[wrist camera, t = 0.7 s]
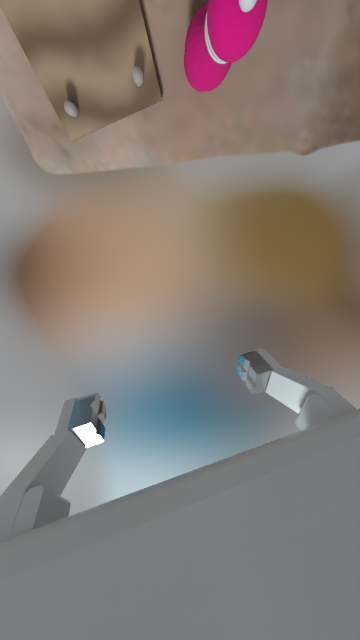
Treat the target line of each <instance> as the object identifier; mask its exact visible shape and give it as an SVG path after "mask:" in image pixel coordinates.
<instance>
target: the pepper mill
mask: <svg viewBox="0 0 360 640" xmlns="http://www.w3.org/2000/svg"><path fill="white" fill-rule="evenodd" d="M266 7H267V0H208V3H207V4H205V5H203V6H202V7H201V8H200V9H199V10H198V11H197V13H196V14H195V16H194V18H193V19H192V21H191V23H190V26H189V29H188V32H187V36H186V42H185V55H184V67H185V73H186V76H187V79H188V81H189V83H190V85H191V86H192V87H193V88H194V89H196V90H198V91H211V90H213V89H215V88H216V87H217V86H219V85H220V83H221V82H222V81H223V79H224V78H225V76H226V75H227V73H228V71H229V68H230V65H231V62H235V61H237V60H239V59H241V58H242V57H243V56H245V54H246V53H247V52H248V51H249V50H250V49H251V47H252V46H253V44H254V43H255V41H256V39H257V37H258V35H259V32H260V30H261V27H262V24H263V21H264V17H265V12H266Z"/></svg>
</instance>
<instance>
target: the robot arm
mask: <svg viewBox="0 0 360 640" xmlns="http://www.w3.org/2000/svg"><path fill="white" fill-rule="evenodd" d="M238 360H239V363H238V364H237V371H238V374H239V376H240V378H241V379H242V380H244V381H246V387H247V388H248V390H249V391H250V393H251V394H252V395H253V394H257V393H261V392H265V391H266V393H268V394H269V395H271V396H272V397H274V398H275V399H277V400H278V401H280V402H281V403H283V404H284V405H286V406H288V407H289V408H291V409H292V410H294V411H295V412H297V413H298V416H297V418H296V420H295V424H296V425H297V426H298V428H299V429H300V430H301V431H298V432H296V433H293V434H290V435H288V436H285V437H283V438H280V439H277V440H274V441H271V442H269V443H266V444H263V445H261V446H258V447H255V448H252V449H250V450H247V451H244V452H242V453H239V454H236V455H234V456H231V457H228V458H225V459H223V460H220V461H217V462H215V463H212V464H210V465H207V466H204V467H201V468H198V469H196V470H193V471H190V472H188V473H185V474H182V475H179V476H177V477H174V478H172V479H169V480H166V481H163V482H161V483H158V484H155V485H152V486H150V487H147V488H144V489H142V490H139V491H136V492H134V493H131V494H128V495H126V496H123V497H120V498H118V499H115V500H112V501H109V502H107V503H104V504H101V505H98V506H96V507H93V508H91V509H88V510H85V511H82V512H79V513H77V514H74V515H71V516H69V510H70V502H69V501H68V500H66V499H64V498H62V497H61V496H60V495H61V493H62V492H63V490H64V488H65V486H66V484H67V482H68V481H69V479H70V477H71V475H72V474H73V472H74V470H75V468H76V467H77V465H78V463H79V461H80V459H81V458H82V456H83V454H84V452H85V450H86V447H89V446H92V445H94V444H98V443H101V442H103V441H104V436H105V427H104V425H103V423H104V421H105V420H106V407H105V404H104V402H103V401H101V400H100V395H99V394H98V393H95V394H91V395H87V396H83V397H79V398H74V399H71V400H67V401H66V402H65V403H64V405H63V408H62V411H61V415H60V418H59V421H58V425H57V428H56V431H55V434H54V435H52V436H50V438H49V439H48V440H47V441H46V442H45V444H44V445H43V446H42V447H41V448H40V449H39V451H38V452H37V453H36V454H35V456H34V457H33V458H32V459H31V460H30V461H29V463H28V464H27V465H26V466H25V468H24V469H23V470H22V471H21V472H20V473H19V475H18V476H17V477H16V478H15V479H14V481H13V482H12V483H11V484H10V485H9V486H8V488H7V489H6V490H5V491H4V493H3V494H2V495H1V496H0V640H360V409H358V410H357V409H356V408H355V407H354V406H353V405H351V404H350V403H349V402H348V401H347V400H346V399H345V398H343V397H342V396H341V395H340V394H339V393H338V392H337V391H335V390H334V389H333V388H332V387H330V386H328V385H325V384H323V383H321V382H318V381H316V380H314V379H311V378H309V377H307V376H304V375H302V374H299V373H297V372H295V371H293V370H290V369H288V368H285V367H283V368H282V367H281V366H280V365H279V364H278V363H277V362H276V361H275V360H274V359H273V358H272V357H271V356H270V355H269V354H268V353H267V352H266V351H265V350H264V349H258V350H255V351H250V352H247V353H243V354H240V355H239V356H238ZM68 516H69V517H68Z"/></svg>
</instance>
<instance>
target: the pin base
mask: <svg viewBox="0 0 360 640" xmlns="http://www.w3.org/2000/svg"><path fill="white" fill-rule="evenodd" d="M0 6H1V8H2V10H3V12H4V14H5V16H6V18H7V20H8V22H9V24H10V25H11V27H12V29H13V31H14V33H15V35H16V37H17V39H18V41H19V43H20V44H21V46H22V48H23V50H24V52H25V54H26V56H27V58H28V60H29V62H30V64H31V65H32V67H33V69H34V71H35V73H36V75H37V77H38V79H39V81H40V83H41V84H42V86H43V88H44V90H45V92H46V94H47V96H48V98H49V100H50V102H51V104H52V105H53V107H54V109H55V111H56V113H57V115H58V117H59V119H60V121H61V123H62V124H63V126H64V128H65V130H66V132H67V134H68V136H69V138H70V140H71V141H74V140H77V139H79V138H81V137H83V136H85V135H87V134H90V133H92V132H94V131H96V130H98V129H100V128H103V127H105V126H107V125H109V124H111V123H114V122H116V121H118V120H120V119H122V118H124V117H127V116H129V115H131V114H133V113H135V112H137V111H140V110H142V109H144V108H146V107H148V106H150V105H153V104H155V103H157V102H159V101H161V100H162V97H161V92H160V88H159V84H158V79H157V75H156V71H155V67H154V62H153V58H152V54H151V49H150V45H149V41H148V37H147V32H146V28H145V24H144V19H143V15H142V11H141V7H140V2H139V0H0Z"/></svg>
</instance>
